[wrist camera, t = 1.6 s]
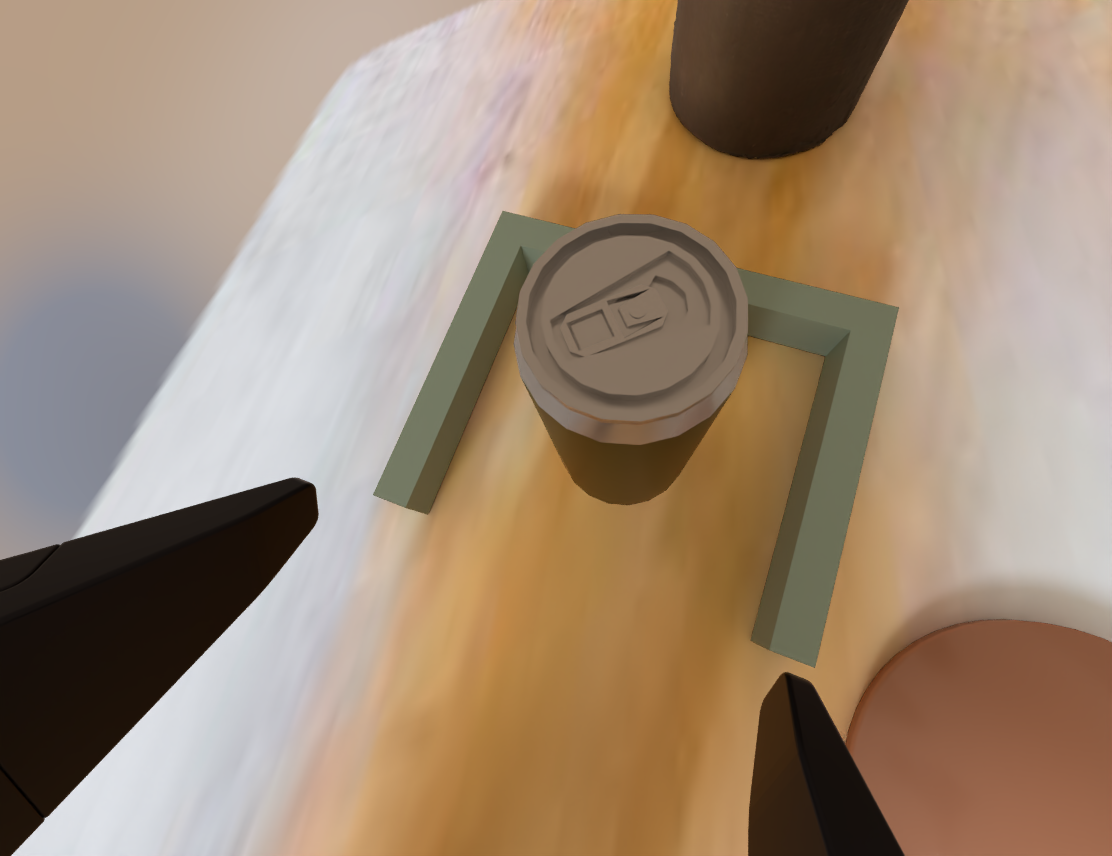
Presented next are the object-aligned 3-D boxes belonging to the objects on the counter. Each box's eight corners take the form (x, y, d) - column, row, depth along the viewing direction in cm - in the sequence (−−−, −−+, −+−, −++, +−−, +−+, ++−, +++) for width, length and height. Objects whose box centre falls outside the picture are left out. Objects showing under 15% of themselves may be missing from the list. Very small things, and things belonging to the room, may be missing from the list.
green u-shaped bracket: (790, 656, 19) (814, 668, 17) (398, 503, 23) (372, 495, 20) (868, 336, 22) (898, 307, 20) (513, 244, 26) (502, 211, 23)
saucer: (1080, 1193, 15) (1106, 1228, 14) (762, 767, 18) (768, 775, 18) (1385, 894, 16) (1425, 911, 15) (1023, 547, 19) (1040, 546, 18)
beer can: (588, 526, 21) (557, 474, 10) (544, 415, 23) (472, 259, 12) (706, 479, 21) (810, 370, 10) (653, 371, 23) (690, 170, 11)
